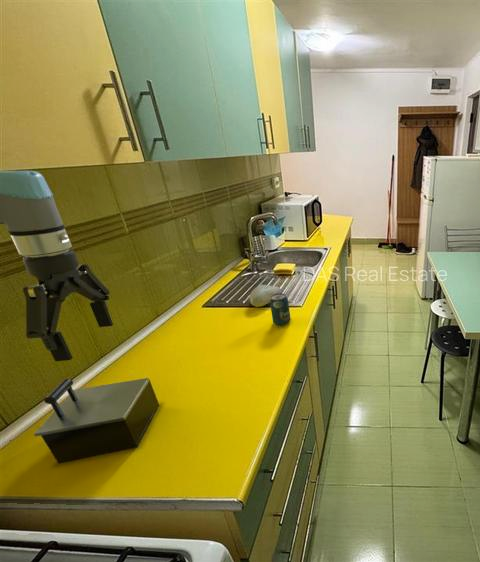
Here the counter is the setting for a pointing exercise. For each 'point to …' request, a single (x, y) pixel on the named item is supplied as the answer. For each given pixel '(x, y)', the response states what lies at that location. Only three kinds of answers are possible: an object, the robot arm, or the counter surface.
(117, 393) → the lid
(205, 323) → the counter surface
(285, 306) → the soda can
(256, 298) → the rock
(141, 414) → the black hollow box
